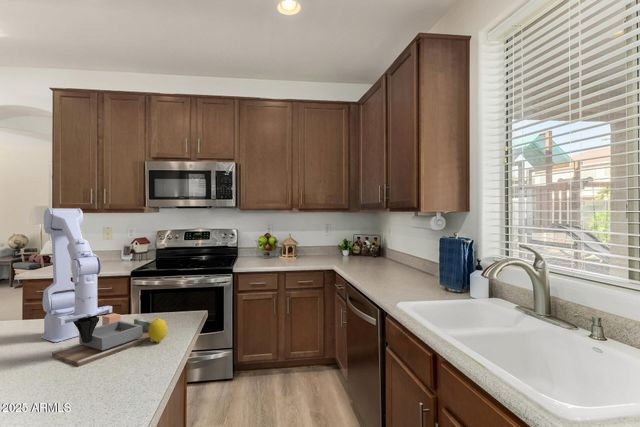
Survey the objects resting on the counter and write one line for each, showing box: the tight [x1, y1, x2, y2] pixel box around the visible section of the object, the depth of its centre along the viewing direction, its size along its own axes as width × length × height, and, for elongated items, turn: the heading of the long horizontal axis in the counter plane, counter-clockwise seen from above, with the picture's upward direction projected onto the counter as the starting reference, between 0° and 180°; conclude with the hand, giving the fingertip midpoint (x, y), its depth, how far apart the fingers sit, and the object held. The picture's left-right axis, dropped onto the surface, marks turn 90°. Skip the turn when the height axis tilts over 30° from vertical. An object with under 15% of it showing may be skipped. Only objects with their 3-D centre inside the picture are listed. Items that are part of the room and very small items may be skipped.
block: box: [101, 312, 121, 326], centre depth 124 cm, size 4×4×6 cm
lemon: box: [149, 317, 168, 344], centre depth 114 cm, size 6×6×8 cm
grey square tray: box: [78, 320, 142, 350], centre depth 111 cm, size 12×13×4 cm
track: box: [51, 317, 153, 367], centre depth 111 cm, size 14×27×4 cm, turn 152°
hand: (86, 342), depth 104 cm, fingers closed
